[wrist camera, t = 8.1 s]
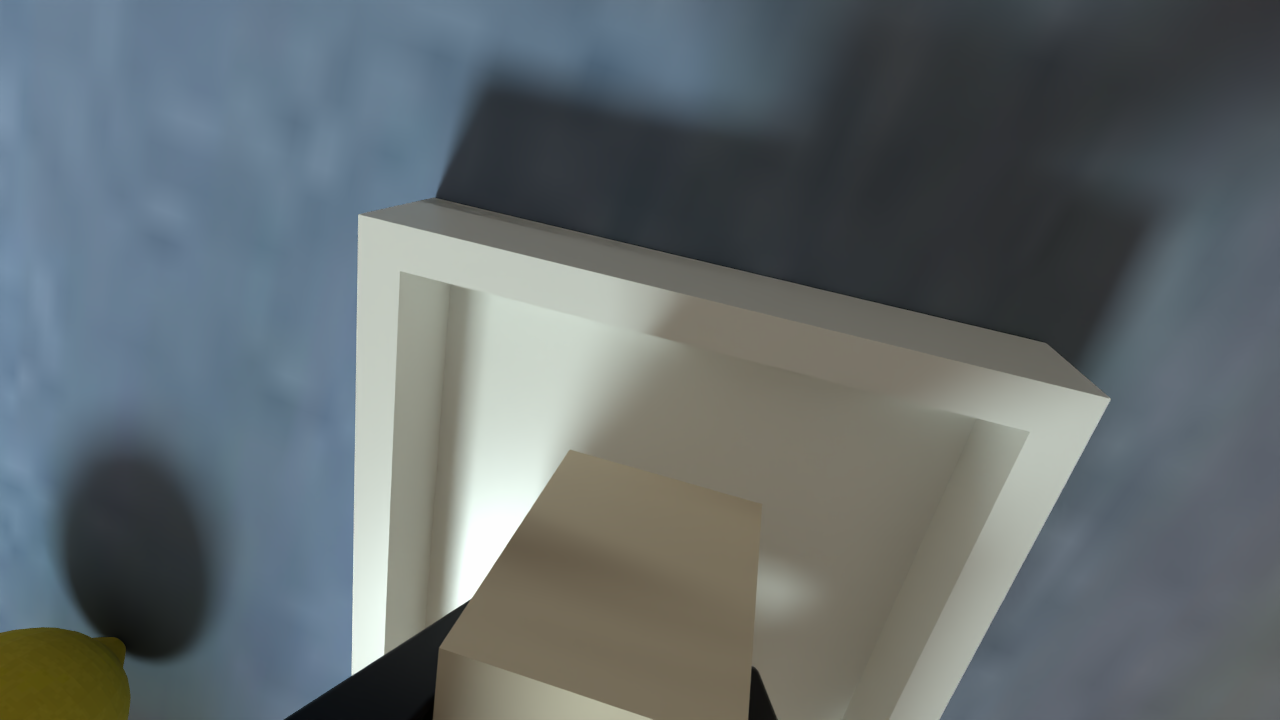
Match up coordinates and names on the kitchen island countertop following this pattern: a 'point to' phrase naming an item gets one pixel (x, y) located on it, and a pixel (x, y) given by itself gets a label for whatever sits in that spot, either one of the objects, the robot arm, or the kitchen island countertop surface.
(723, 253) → the kitchen island countertop surface
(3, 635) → the lemon
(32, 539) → the kitchen island countertop surface
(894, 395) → the tray
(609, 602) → the birch collar
